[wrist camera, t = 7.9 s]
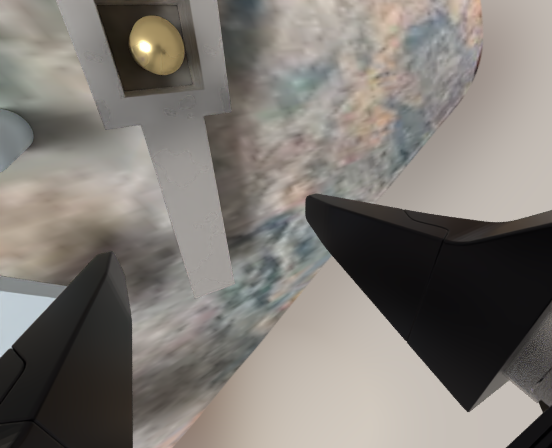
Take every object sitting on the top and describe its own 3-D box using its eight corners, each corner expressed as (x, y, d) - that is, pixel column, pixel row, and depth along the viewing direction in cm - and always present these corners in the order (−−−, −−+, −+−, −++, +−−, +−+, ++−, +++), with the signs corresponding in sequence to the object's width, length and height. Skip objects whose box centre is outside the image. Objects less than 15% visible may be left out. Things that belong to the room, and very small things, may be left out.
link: (52, -33, 11) (34, -56, 9) (195, -27, 13) (211, -44, 11) (167, 279, 21) (173, 306, 19) (240, 255, 23) (253, 277, 21)
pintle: (175, 70, 15) (189, 73, 12) (135, 72, 14) (140, 77, 11) (165, 24, 14) (178, 15, 11) (122, 25, 13) (122, 15, 10)
